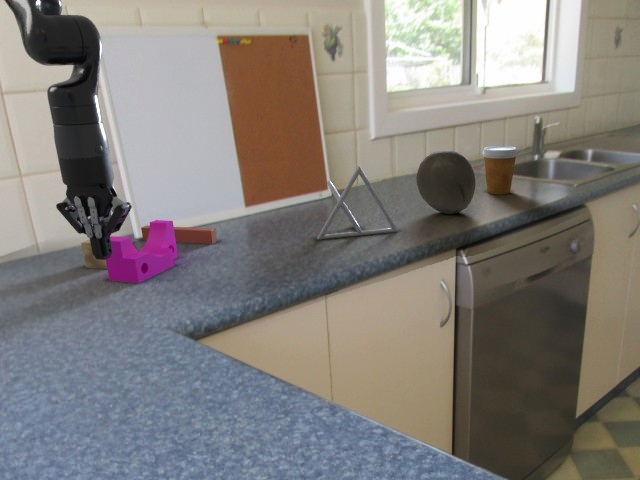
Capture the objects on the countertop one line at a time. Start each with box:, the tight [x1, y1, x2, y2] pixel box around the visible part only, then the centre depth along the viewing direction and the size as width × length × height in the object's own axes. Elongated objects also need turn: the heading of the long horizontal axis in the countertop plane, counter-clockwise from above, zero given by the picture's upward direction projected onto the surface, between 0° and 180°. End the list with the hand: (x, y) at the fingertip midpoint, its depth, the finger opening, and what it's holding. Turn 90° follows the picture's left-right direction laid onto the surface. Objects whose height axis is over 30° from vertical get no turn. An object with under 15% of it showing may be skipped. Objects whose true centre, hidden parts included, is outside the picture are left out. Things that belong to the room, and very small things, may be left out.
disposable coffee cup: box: [482, 145, 519, 195], centre depth 181 cm, size 10×10×12 cm
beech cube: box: [80, 239, 107, 270], centre depth 126 cm, size 5×5×5 cm
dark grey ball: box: [415, 150, 476, 215], centre depth 158 cm, size 14×14×15 cm
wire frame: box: [316, 165, 399, 241], centre depth 145 cm, size 18×13×16 cm
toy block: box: [106, 219, 179, 284], centre depth 122 cm, size 15×6×8 cm, turn 163°
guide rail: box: [140, 225, 218, 245], centre depth 141 cm, size 16×2×3 cm, turn 76°
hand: (103, 258), depth 110 cm, fingers closed
